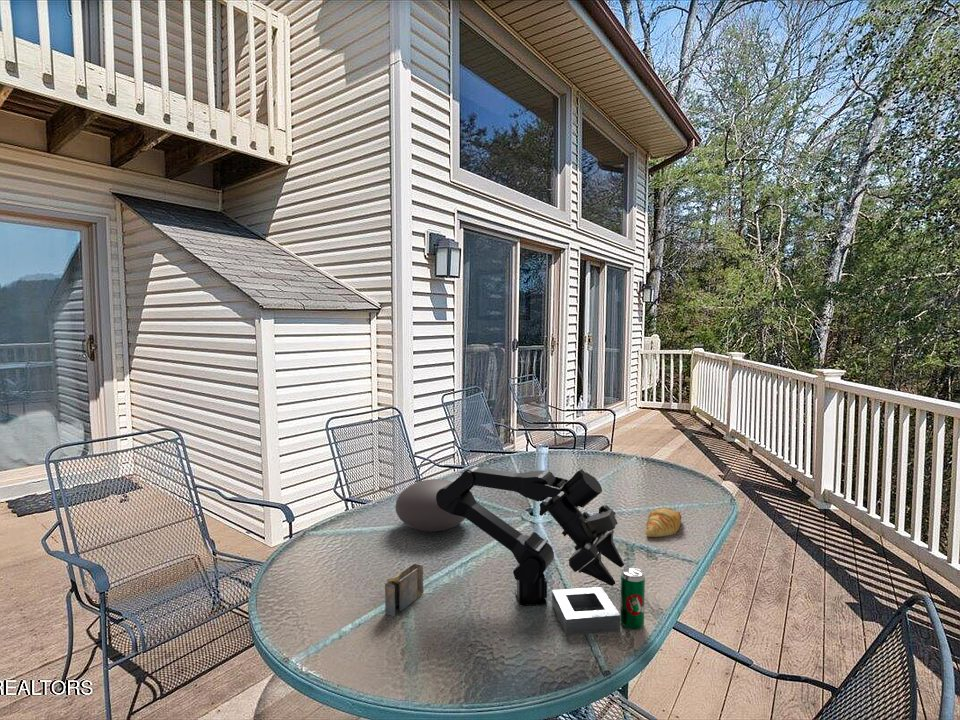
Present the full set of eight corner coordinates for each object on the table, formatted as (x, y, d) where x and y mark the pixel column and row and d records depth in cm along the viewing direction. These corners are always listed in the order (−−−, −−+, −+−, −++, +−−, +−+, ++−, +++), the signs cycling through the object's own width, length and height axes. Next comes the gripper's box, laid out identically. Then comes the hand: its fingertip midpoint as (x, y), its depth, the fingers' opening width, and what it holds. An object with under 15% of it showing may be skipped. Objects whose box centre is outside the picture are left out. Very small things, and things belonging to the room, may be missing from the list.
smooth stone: (487, 525, 170) (487, 480, 169) (430, 550, 152) (429, 500, 151) (437, 507, 187) (436, 466, 186) (380, 527, 169) (379, 483, 167)
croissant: (656, 553, 157) (668, 534, 154) (629, 530, 163) (640, 511, 159) (685, 531, 172) (697, 513, 169) (659, 510, 178) (670, 493, 175)
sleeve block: (566, 634, 111) (566, 619, 111) (552, 604, 123) (552, 590, 123) (620, 630, 112) (620, 615, 112) (601, 600, 124) (601, 586, 124)
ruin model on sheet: (396, 618, 118) (395, 577, 117) (385, 615, 120) (384, 574, 119) (424, 595, 128) (424, 557, 127) (414, 592, 129) (414, 554, 129)
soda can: (625, 615, 118) (626, 564, 117) (647, 623, 115) (648, 570, 114) (616, 625, 114) (617, 572, 113) (638, 634, 111) (639, 579, 110)
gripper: (583, 511, 108) (637, 574, 104) (604, 485, 125) (652, 538, 121) (547, 541, 112) (598, 602, 108) (572, 512, 129) (617, 564, 125)
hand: (618, 575), depth 115 cm, fingers open, 9 cm apart
